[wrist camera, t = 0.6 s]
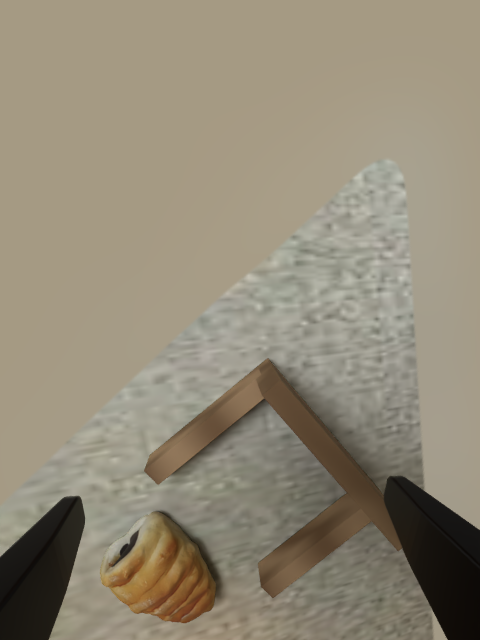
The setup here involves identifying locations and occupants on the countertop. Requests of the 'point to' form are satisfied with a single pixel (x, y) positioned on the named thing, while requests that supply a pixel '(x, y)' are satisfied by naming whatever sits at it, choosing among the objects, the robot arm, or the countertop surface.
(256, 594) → the countertop surface
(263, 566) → the frame
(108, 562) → the pastry
